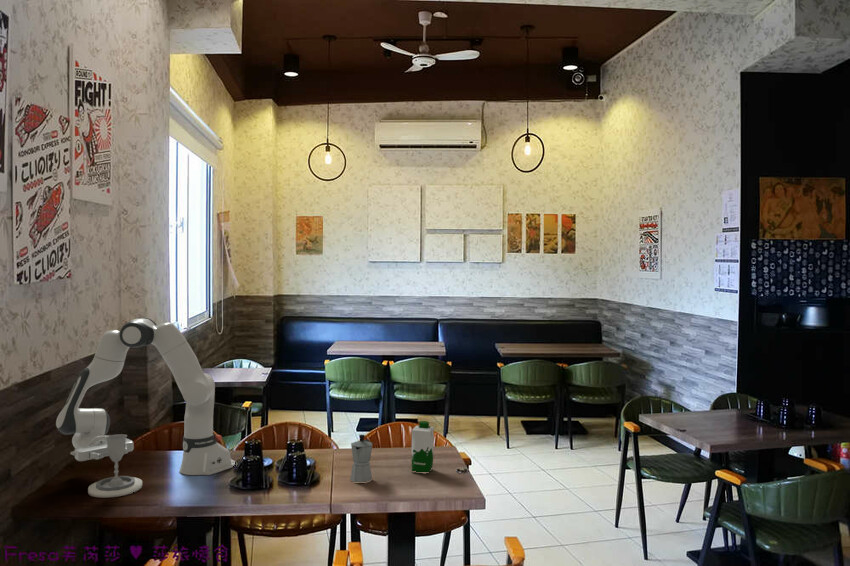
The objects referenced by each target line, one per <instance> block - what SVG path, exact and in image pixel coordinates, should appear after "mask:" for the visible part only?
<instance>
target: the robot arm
mask: <svg viewBox="0 0 850 566" xmlns="http://www.w3.org/2000/svg"><path fill="white" fill-rule="evenodd" d="M150 345H153V346H154V347H155V348H156V349H157V351H158V352H159V354H160V355H161V357H162V358H163V360H164V362H165V364H166V365H167V367H168V368H169V370H170V372H171V374H172V376H173V379H174V380H175V383H176V385H177V387H178V389H179V391H180V393H181V395H182V398H183V399H184V402H185V411H184V412H185V413H184V418H183V419H184V425H183V427H184V428H183V429H184V431H183V432H184V433H183V434H184V435H183V437H182V451H183V453H182V458H181V459H182V460H181V464H180V467H179V473H180V474H182V475H186V476H201V475H202V476H211V475H214V474H217V473H220V472H222V471H226V470H228V469H231V468H234V467H235V466H234V464H235V462H236V461H235V460H233V459H232V455H231V453H230V451H229V449H228V448H226V447H224V446H223V445H222V444H220V443H219V442H218V441H221V440H222V438H223V437H222V436H223V435H220V434H214V408H215V394H216V393H215V392H216V390H215V389H216V382H215V379H214V378H213V377H212V376H211V375H210V374H208V373H206V372H204V371H203V368H202V367H201V365H200V362H199V359H198V357H197V355H196V354H195V352H194V351H193V348H192V347H191V345H190V344H189V342H188V340H187V339H186V337H185V336H184V335H183V333H182V332H181V331H180V330H179V328H178V327H177V326H176V325H175V324H174V323H172V322H162V323H160V324H158V325H157V323H156V322H155V321H154V320H153V319H151V318H148V317H139V318H134V319H131V320H130V321H127V322H125V323H124V324H123V325H122V327H121V328H120V330H117V329H112V330H107V331H105V332H104V333H103V334H102V336H101V338H100V340H99V342H98V344H97V347H96V350H95V354H94V356H93V359H92V361H91V362H90V363H89V365H88V366H87V367H85V368H83V369H81V370H80V372H79V374H78V376H77V378H76V380H75V381H74V383H73V385H72V388H71V390H70V392H69V394H68V396H67V399H66V400H65V402H64V405H63V407H62V408H61V409H60V411H59V413H58V415H57V416H56V420H55V427H56V429H57V430H58V432H60V433H61V434H63V435H73V436H72V439H71V443H72V445H73V447H74V450H73V451H70V455H72V456H74V458H75V460H76V461H78V462H85V461H89V460H101V459H103V458H104V457H110V456H109V454H108V452H107V439H106V437H107V436H109V435H107V434H108V432H109V429H110V425H111V417H110V415H109V413H108V411H106V410H105V409H104V408H97V407H94V408H93V407H92V408H85V407H84V408H81V407H80V406H81V403H82V401H83V398H84V397H85V395H86V392H87V390H89V388H91V387H92V386H95V385H97V384H101V383H104V382H107V381H110V380H113V379H114V378H116V377H118V376H119V375H120V374H121V372H122V371H123V369H124V365H125V361H126V359H127V358H126V357H127V353H128V352H129V349H130V348H133V349H134V348H135V349H136V348H141V347H145V346H150ZM134 446H135V445H134V441H133V440H131V439H129V438H127V437H126V449H125V452H124V454H123V455H125V454H129V452H133V450H134V449H135V447H134ZM233 466H234V467H233Z"/></svg>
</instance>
